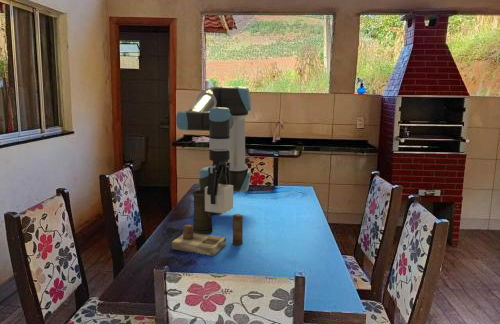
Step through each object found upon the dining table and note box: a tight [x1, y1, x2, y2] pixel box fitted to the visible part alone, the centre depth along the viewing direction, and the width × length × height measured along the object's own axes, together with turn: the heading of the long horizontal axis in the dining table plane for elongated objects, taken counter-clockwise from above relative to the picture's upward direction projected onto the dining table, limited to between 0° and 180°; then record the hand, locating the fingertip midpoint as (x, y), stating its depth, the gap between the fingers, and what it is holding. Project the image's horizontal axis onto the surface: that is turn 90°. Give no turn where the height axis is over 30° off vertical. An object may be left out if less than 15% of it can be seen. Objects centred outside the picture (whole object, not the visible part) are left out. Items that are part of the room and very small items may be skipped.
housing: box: [205, 184, 234, 215], centre depth 148 cm, size 8×8×9 cm
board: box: [171, 224, 227, 256], centre depth 157 cm, size 12×18×8 cm, turn 70°
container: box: [192, 189, 214, 235], centre depth 174 cm, size 9×9×18 cm
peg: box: [232, 213, 244, 246], centre depth 161 cm, size 4×4×12 cm
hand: (219, 208), depth 148 cm, fingers closed on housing, 8 cm apart
